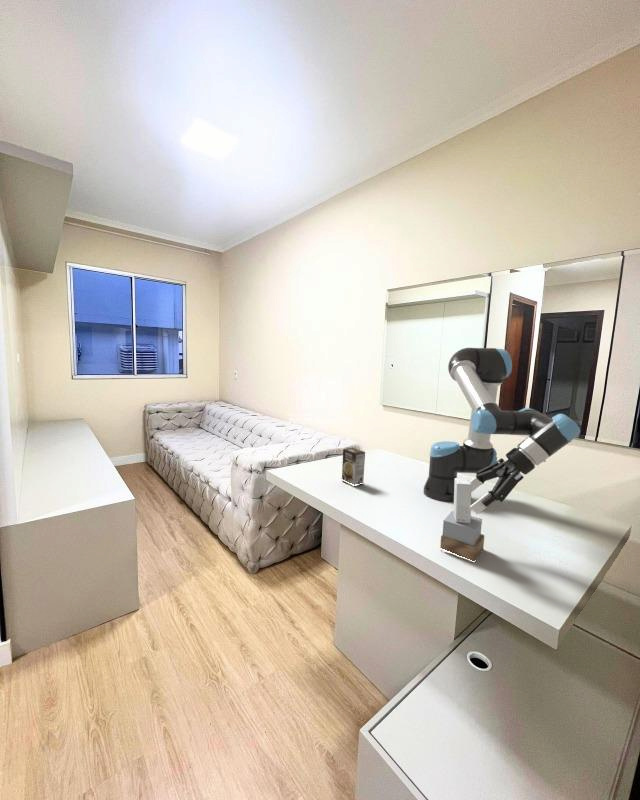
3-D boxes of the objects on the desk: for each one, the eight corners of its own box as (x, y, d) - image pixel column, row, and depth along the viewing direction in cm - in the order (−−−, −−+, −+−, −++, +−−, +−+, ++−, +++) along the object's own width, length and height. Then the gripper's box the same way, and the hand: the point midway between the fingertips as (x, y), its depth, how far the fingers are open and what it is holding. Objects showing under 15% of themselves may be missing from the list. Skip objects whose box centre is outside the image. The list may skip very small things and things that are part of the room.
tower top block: (442, 535, 105) (443, 520, 105) (451, 525, 112) (452, 510, 112) (473, 546, 100) (474, 529, 99) (480, 534, 107) (482, 519, 106)
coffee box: (341, 481, 164) (342, 448, 163) (351, 479, 168) (352, 447, 166) (353, 487, 157) (355, 453, 155) (364, 484, 161) (365, 451, 159)
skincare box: (470, 523, 102) (472, 484, 101) (455, 522, 103) (456, 483, 102) (467, 515, 108) (468, 478, 107) (453, 514, 109) (454, 477, 108)
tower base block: (440, 551, 106) (441, 536, 105) (450, 539, 113) (451, 524, 113) (474, 564, 99) (475, 547, 99) (483, 550, 107) (484, 534, 107)
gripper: (555, 480, 88) (488, 529, 92) (518, 455, 112) (466, 495, 116) (534, 458, 88) (468, 508, 92) (502, 438, 112) (451, 478, 117)
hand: (467, 501), depth 104 cm, fingers open, 13 cm apart
